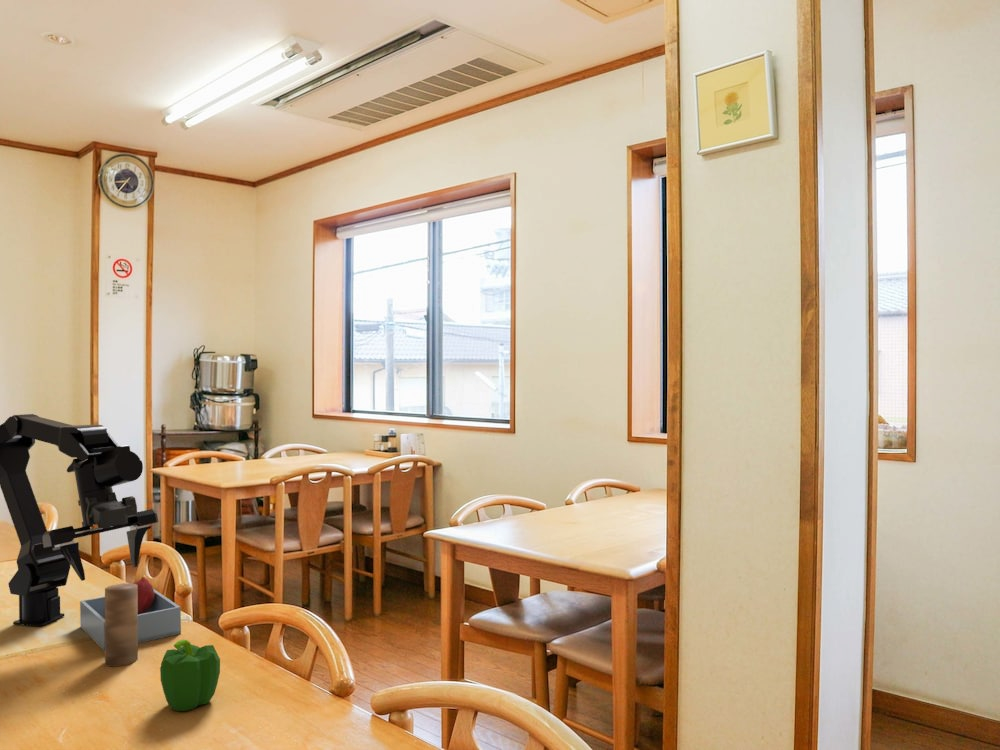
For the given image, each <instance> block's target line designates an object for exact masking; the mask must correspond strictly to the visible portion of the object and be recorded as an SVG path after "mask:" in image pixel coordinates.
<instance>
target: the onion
mask: <svg viewBox="0 0 1000 750" xmlns="http://www.w3.org/2000/svg"><path fill="white" fill-rule="evenodd" d="M132 584H137V585H138V615H139V614H141V613H143V612H145V611H147V610H148V609H149V608H150V607H151V606H152V604H153V602H154V599H155V594H154V590H155V589H154V588H153V585H152V584H151V583H150V582H149V580H148V578H147V576H146V575H142V577H141V578H140V579H139V580H136V581H134V582H133V583H132ZM153 589H154V590H153Z"/></svg>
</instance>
